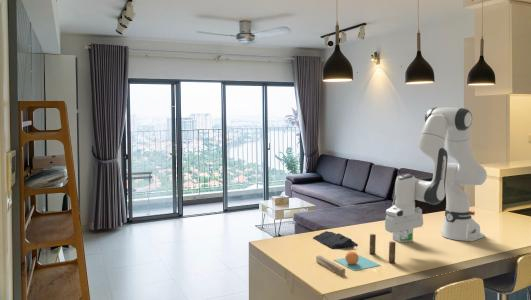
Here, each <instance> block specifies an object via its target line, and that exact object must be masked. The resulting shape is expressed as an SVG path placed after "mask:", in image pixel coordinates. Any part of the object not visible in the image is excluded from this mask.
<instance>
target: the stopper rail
mask: <svg viewBox="0 0 531 300" xmlns="http://www.w3.org/2000/svg"><path fill="white" fill-rule="evenodd" d="M315 257H316V260H315V261H316V263H318V264H320V265H322V266H323V267H324V268H327V269H329V270H330V271H331V272H334V273H336V274H337V275H339V276H340V277H343V276H346V268H344V267H343V266H341V265H339V264H337V263H336V262H334V261H331V260H330V259H328V258H326V257H324V256H322V255H316V256H315Z"/></svg>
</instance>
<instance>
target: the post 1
mask: <svg viewBox="0 0 531 300" xmlns="http://www.w3.org/2000/svg"><path fill="white" fill-rule="evenodd" d="M376 238H377V236H376V234H375V233H370V234H369V255H373V256H374V255H376V243H377V241H376Z"/></svg>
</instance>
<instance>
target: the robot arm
mask: <svg viewBox="0 0 531 300" xmlns="http://www.w3.org/2000/svg"><path fill="white" fill-rule="evenodd" d="M424 122H425V123H424V124H423V127H422V130H421V133H420V136H419V139H418V147H419V149H420V151H421V152H422V154H424V155H425V156H427V157H429V158H431V160H432V161H433V163H434V164H433V165H434V166H433V171H432V172H433V175H432V180H431V181H428V180H423V179H420V178H416V177H415V176H414V175H413V174H412V173H402V174H399V175H398V176H396V179H395V182H394V184H395V185H394V196H395V199H394V204H393V205H392V206H391V207H389V208H387V209H386V210H385V214H386V215H385V219H384V227H385V228H384V229H385V230H386V232H388V233H391V234H393V232H398V231H399V233H400V235H401V239H407V238H408V235H409V233H410V229H412V228H413V229H417V228H422V227H423V225H424V218H423V216H424V215H423V209H422V208H421V207H419V206H417V207H416V201H419V202H424V203H427V204H429V205H433V206H435V205H436V206H437V205H439V204H440V203H441V202H443V201H444V199H445V198H446V199H445V200H446V201H445V202H446V204H445V207H446V208H445V209H444V210H445V211H444V216H445V218H444V219H443V224H442V229H441V231H440V233H441V236H442V237H444V238H446V239H450V240H455V241H466V242H474V241H477V240H480V239H483V238H484V237H486V234H485V233H482V232H481V226H480V224H479V223H478V222H477V221H476V220H474V219H473V218H472V216H475V214H476V212H475V211H474V210H473V211H472V210H470V207H471V206H470V205H471V204H470V203H471V201H470V200H471V199H470V195H469V194H468V193H466V192H465V191H464V190H462V189H461V188H460V185H461V186H462V185H463V186H481V185H483V184H484V183H485V182H486V180H487V178H488V177H487V175H488V174H487V170H486V169H485V167H484V166H482V165H481V164H479V162H477V160H476V159H475V158H474V156H473V154H472V149H471V138H470V135H471V134H470V126H471V125H472V123H473V115H472V113H471V111H470V110H469V109H467V108H462V107H461V108H460V107H453V106H451V107H450V106H448V107H447V106H446V107H431V108H430V109H428V110H427V111H426V113H425V115H424ZM445 145H446V147H445ZM448 157H450V158H452V159H454V160H455V161H456V162H448V160H449V159H448ZM404 230H406V231H405V233H403V232H404Z"/></svg>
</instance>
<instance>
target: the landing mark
mask: <svg viewBox="0 0 531 300" xmlns="http://www.w3.org/2000/svg"><path fill="white" fill-rule="evenodd" d="M358 257H359V260H358V262H357V263H356V264H354V265H351V264H348V263H347V261H346V259H345V257H342V258H337V259H333V262H334V261H335V263H338V264H341V265H342V266H345V267H346V268H347V269H349V270H352V271H353V272H355V271H356V272H357V271H359V270H367V269H370V268H374V267H375V268H376V267H380V266H381V264H378V263H377V262H374V261H373V260H371V259H368V258H366V257H364V256H362V255H361V254H360V255H359V254H358Z"/></svg>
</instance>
